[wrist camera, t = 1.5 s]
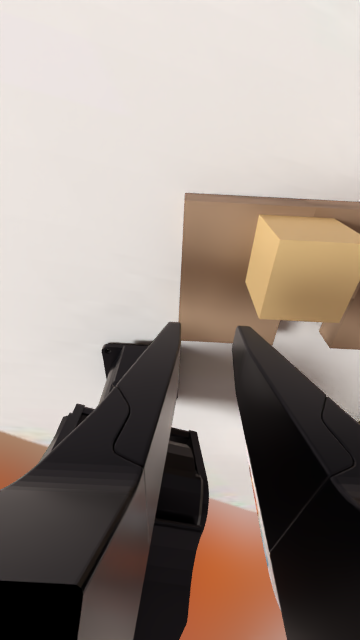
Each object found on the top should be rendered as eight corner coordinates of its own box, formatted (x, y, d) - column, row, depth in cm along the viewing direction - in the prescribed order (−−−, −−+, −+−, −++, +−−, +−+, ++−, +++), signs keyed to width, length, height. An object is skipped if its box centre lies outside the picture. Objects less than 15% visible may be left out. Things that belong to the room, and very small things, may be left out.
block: (309, 285, 17) (339, 323, 13) (245, 281, 17) (259, 318, 13) (333, 218, 14) (377, 244, 11) (259, 214, 14) (280, 239, 11)
